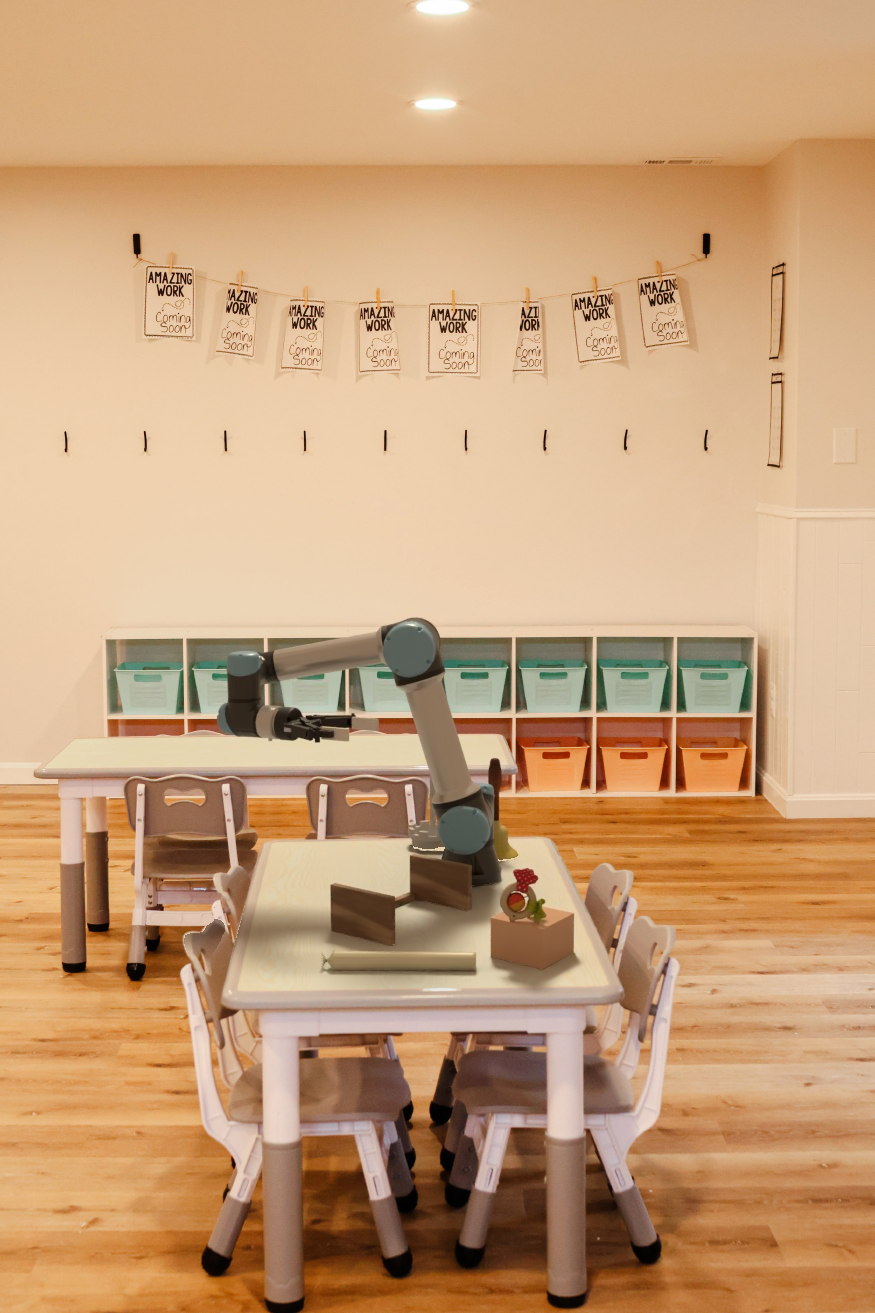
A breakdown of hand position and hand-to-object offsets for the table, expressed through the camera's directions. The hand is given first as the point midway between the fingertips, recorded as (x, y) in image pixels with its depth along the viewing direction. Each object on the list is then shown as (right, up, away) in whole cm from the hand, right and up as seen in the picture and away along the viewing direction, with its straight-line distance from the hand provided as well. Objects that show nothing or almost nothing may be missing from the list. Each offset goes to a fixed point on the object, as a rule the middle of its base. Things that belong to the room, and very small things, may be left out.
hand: (363, 729), depth 286 cm
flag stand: (+15, -34, +55) cm, 66 cm away
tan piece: (+9, -45, -33) cm, 56 cm away
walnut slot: (+9, -41, -4) cm, 42 cm away
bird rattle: (+33, -36, -30) cm, 57 cm away
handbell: (+31, -35, +46) cm, 65 cm away
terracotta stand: (+35, -43, -26) cm, 61 cm away
